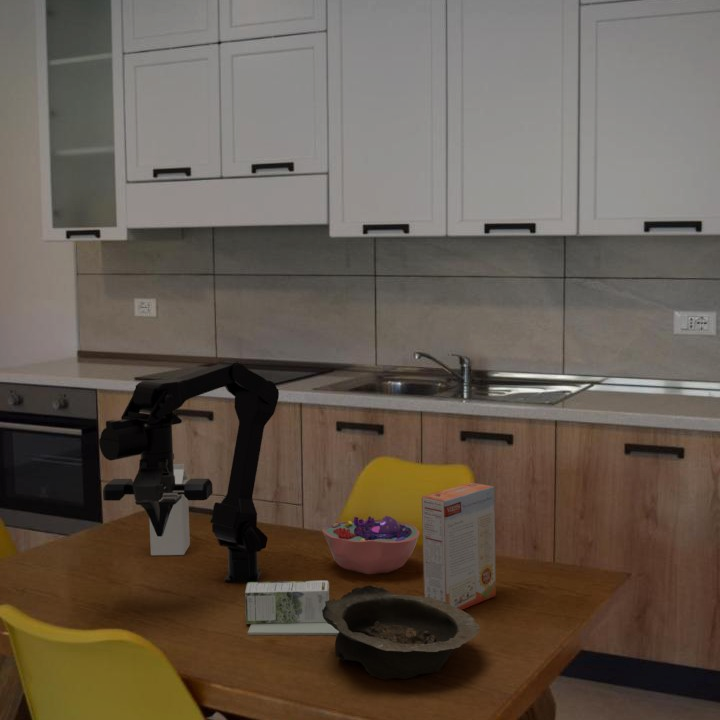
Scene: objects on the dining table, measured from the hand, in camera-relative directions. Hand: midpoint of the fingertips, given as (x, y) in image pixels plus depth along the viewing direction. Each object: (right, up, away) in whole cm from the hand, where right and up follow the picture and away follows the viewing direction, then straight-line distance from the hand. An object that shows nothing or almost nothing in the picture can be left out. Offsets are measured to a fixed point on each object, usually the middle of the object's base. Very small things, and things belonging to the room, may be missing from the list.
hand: (160, 536), depth 188 cm
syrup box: (+16, -10, -8) cm, 21 cm away
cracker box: (+54, -12, 0) cm, 56 cm away
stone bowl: (+43, -15, -25) cm, 52 cm away
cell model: (+38, -11, +20) cm, 45 cm away
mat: (+26, -14, -8) cm, 30 cm away
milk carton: (-5, -10, +36) cm, 37 cm away
